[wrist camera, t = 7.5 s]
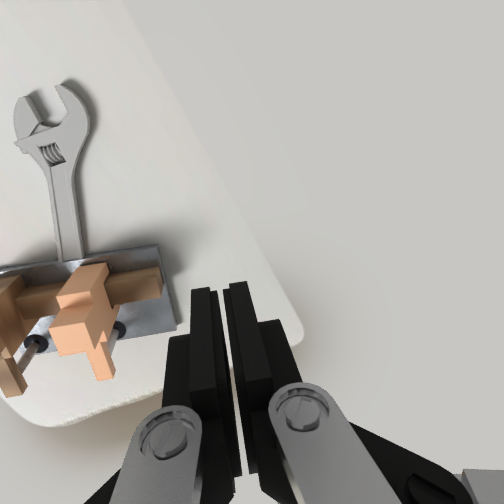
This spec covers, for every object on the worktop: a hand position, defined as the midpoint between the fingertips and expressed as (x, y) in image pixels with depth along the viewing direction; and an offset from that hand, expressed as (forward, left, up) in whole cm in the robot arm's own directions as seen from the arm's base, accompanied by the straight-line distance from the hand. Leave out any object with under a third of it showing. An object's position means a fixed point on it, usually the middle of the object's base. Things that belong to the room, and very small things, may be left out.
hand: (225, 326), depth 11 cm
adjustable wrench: (+3, -16, -29) cm, 33 cm away
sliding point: (+14, -14, -27) cm, 33 cm away
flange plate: (+13, -16, -28) cm, 35 cm away
